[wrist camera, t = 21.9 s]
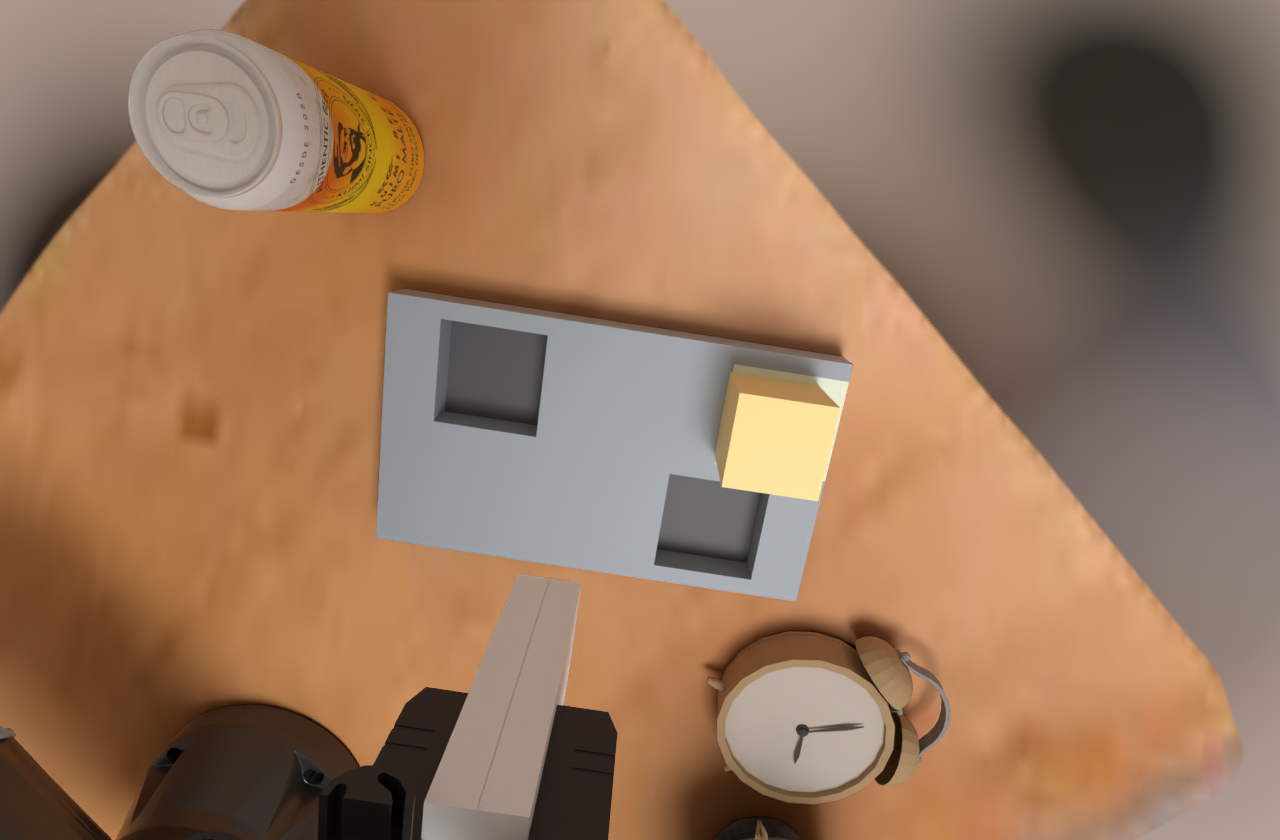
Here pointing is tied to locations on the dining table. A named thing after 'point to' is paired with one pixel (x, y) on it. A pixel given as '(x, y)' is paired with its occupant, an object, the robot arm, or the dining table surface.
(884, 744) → the alarm clock
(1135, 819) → the dining table surface
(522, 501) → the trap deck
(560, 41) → the dining table surface
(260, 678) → the dining table surface
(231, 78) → the beer can
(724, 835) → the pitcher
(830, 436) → the block
